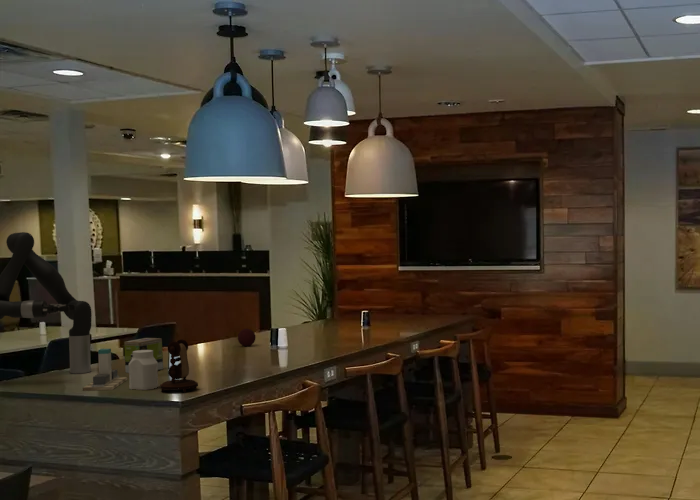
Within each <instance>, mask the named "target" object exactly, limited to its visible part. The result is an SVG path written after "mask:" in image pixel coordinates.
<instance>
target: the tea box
mask: <svg viewBox="0 0 700 500" xmlns="http://www.w3.org/2000/svg"><path fill="white" fill-rule="evenodd" d="M123 343H124V367H125V373H126V374H129V362H130V359H131V354H133V353H132V352H133V351H137V350H153V357H154V358H155V359H156V361H157V362H158V365H157V368H158V371H159V370H163V369H164V356H163V355H164V354H163V339H162V337H161V338H160V337H158V338H157V337H143V338H138V339H131V340H128V341H127V340H126V341H123Z"/></svg>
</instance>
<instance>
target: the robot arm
mask: <svg viewBox="0 0 700 500" xmlns="http://www.w3.org/2000/svg"><path fill="white" fill-rule="evenodd" d="M34 245H35V237H33V235H32V234H31V233H30V232H26V231H23V232H13V233H10V234H9V235H8V236H7V238H6V246H7V249H8V251H9V252H11V253H12V255H11V257H10V260H9V262H8V263H7V264H6V266H5V267H4V269H3V270H2V271H1V272H0V320H2V319H3V318H4V317H10V318H14V319H15V318H16V319H20V318H21V319H23V318H24V319H25V318H26V319H37V318H41V319H42V318H43V319H44V318H46V317H47V316H48V314H57V313H61V312H63V313H64V315H65V316H66V317H67V318H68V319H69V320H71V321H72V327H71V328H70V329H69V330H68V340H69V341H68V347H69V373H70V374H87V373H91V371H92V367H91V362H92V361H91V329H92V315H93V314H92V313H93V312H92V307H91V305H90V303H89V302H87V301H85V300H77V299H76V298H75V297H74V296H73V295H72V294H71V293H70V292H69V290H68V288H67V286H66V283H65V280H64V277H63V276H62V275H61V274H60V272H59V271H58V270H57V269H56V267H55V266H54V265H53V264H51V263H50V262H48V261H47V260H46V259H44V258H42V257H41V256H39V255H38V253H36V252H35V251H34V250H33V249H34ZM23 266H25V267H26V268H27V269H28V270H29V272H30V273H31V274H32V275H33V277H34V279H36V280H37V281H38V283H39V284H40V285H41V286H42V287H43V288H44V289H45V291H46V292H48V294H49V295H50V297H52V298H53V299H54V301H55V302H56V303H50V304H48V303H47V301H46V300H45V299H38V300H22V301H21V300H20V301H18V300H17V301H16V300H15V301H10V297H11V294H12V292H13V289H14V287H15V284H16V282H17V279H18V276H20V275H19V274H20V273H21V270H22V268H23Z"/></svg>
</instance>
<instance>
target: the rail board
mask: <svg viewBox="0 0 700 500" xmlns="http://www.w3.org/2000/svg"><path fill="white" fill-rule="evenodd" d="M126 381H128V376H119V378H117V379H116V380H114V381H113V382H111V383H109V384H108V385H106V386H105V387H92V385H93V381H92V382H90V383H89V384H87V385H85V386H83V387H82V391H85V392H87V391H88V392H89V391H113V390H114V389H116V388H118V387H119V386H121V385H122V384H123V383H124V382H126Z"/></svg>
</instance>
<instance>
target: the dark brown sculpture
mask: <svg viewBox="0 0 700 500" xmlns="http://www.w3.org/2000/svg"><path fill="white" fill-rule="evenodd" d="M188 350H189V343H188V341H186V340H185V339H183V338H181V339H178V340H177V341H174V340H173V341H171V342H170V343H168V345H167V352H168V353H169V355H170V360H169V363H170V366H169V368H168V375H169V377H170V378H171V380H166V381H164V382H162V383H161V384H160V386H159V387H160V389H161V392H162V393H164V392H165V391H167V390H168V391H178V390H179V391H180V390H181V391H183V393H184V392H185V393H186V392H187V390H190V389H195V388H196V389H197V387H198V386H199V382H197V381H195V380H193V379H187V377H188V376H189V374H190V367H189V365H190V364H189V360H188ZM177 362H179V363H178V364H176V363H177Z"/></svg>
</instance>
